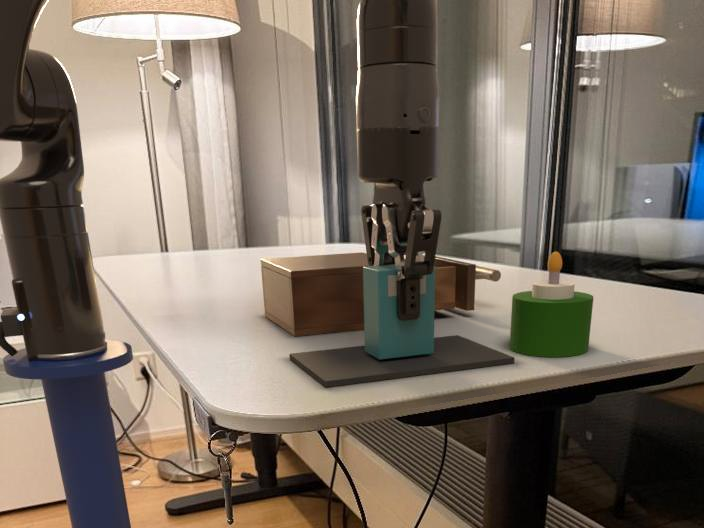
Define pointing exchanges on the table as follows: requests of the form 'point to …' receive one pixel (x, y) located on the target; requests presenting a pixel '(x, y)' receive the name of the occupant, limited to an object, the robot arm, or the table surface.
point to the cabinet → (315, 292)
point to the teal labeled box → (381, 316)
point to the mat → (396, 362)
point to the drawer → (458, 283)
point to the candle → (551, 317)
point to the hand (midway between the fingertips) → (398, 314)
